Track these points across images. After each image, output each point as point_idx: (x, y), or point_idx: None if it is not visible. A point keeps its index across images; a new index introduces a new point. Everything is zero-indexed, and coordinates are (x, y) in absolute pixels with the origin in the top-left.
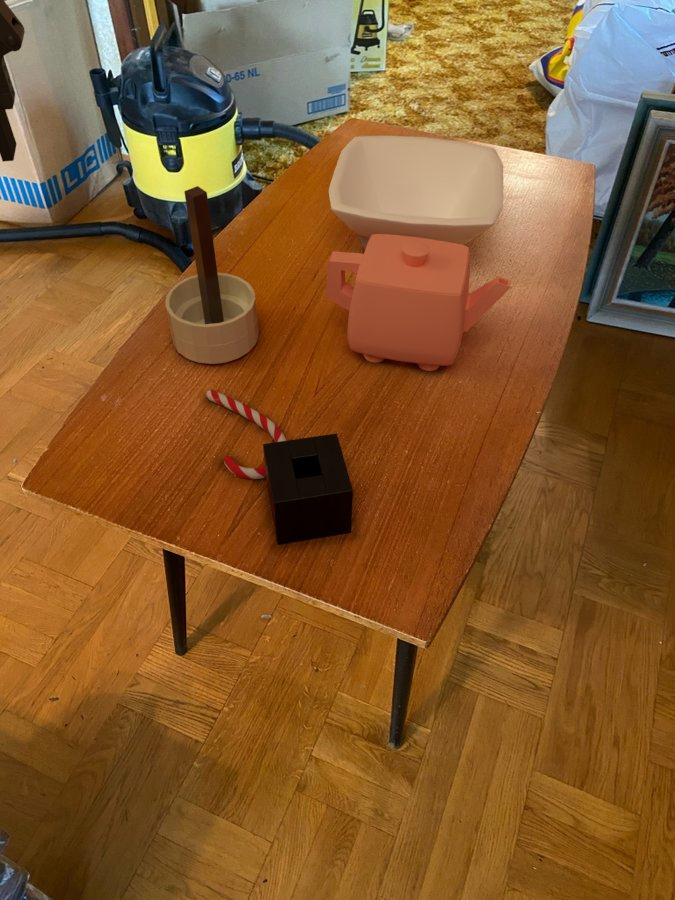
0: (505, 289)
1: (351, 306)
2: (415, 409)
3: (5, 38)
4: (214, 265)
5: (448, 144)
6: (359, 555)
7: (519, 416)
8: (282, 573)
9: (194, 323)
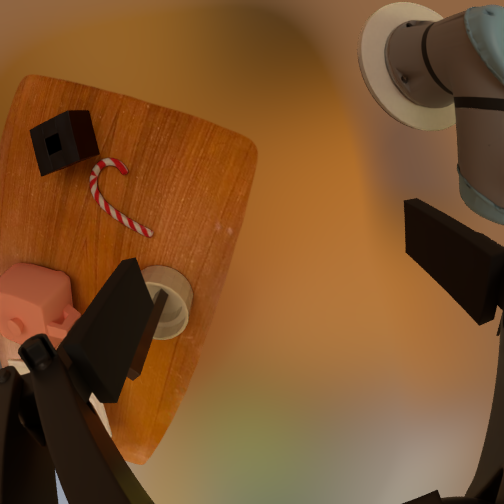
0: None
1: (52, 294)
2: (32, 230)
3: (5, 380)
4: None
5: None
6: (48, 112)
7: None
8: (85, 91)
9: (157, 285)
